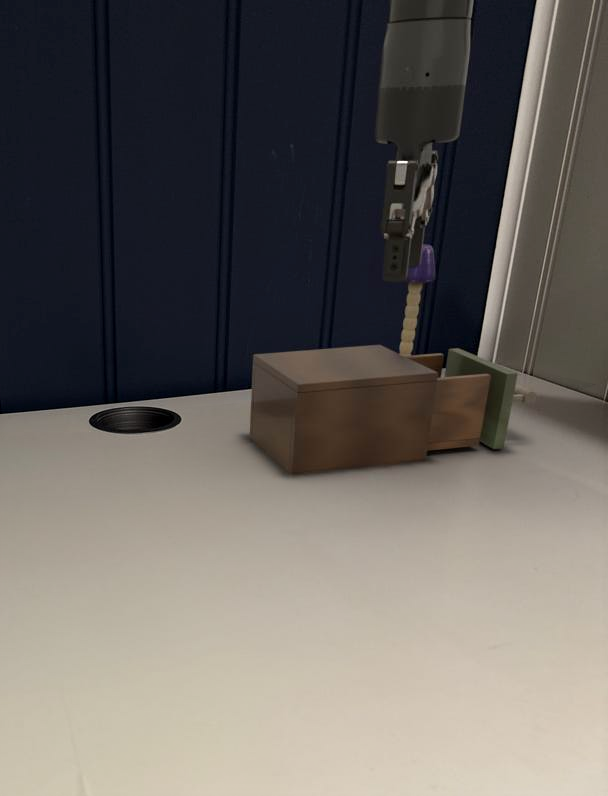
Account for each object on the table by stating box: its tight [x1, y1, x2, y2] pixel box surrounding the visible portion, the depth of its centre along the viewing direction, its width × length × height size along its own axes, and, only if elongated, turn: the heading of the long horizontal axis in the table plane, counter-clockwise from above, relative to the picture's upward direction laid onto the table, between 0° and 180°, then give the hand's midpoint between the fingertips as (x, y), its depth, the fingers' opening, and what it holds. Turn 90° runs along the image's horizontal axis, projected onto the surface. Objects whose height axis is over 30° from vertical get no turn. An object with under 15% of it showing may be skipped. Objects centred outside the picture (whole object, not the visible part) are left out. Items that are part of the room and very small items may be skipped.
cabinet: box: [249, 344, 438, 476], centre depth 97 cm, size 15×13×10 cm
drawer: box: [404, 347, 537, 452], centre depth 99 cm, size 18×11×8 cm, turn 103°
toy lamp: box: [399, 243, 436, 356], centre depth 121 cm, size 5×5×17 cm
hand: (401, 273), depth 91 cm, fingers open, 8 cm apart
